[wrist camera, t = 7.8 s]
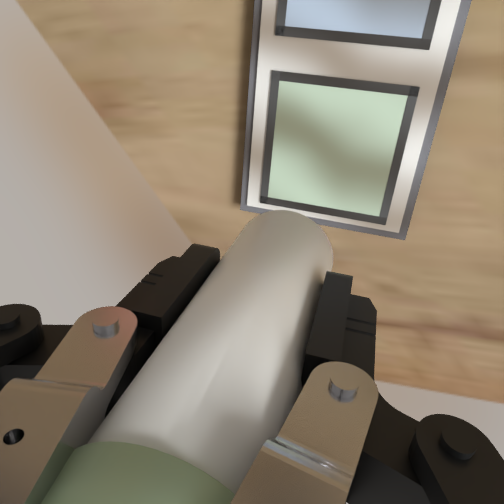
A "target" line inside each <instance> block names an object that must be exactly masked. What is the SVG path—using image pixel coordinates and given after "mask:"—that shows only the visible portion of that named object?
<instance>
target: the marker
mask: <svg viewBox="0 0 504 504" xmlns="http://www.w3.org/2000/svg"><path fill="white" fill-rule="evenodd" d="M332 266H333V250H332V246H331V243H330V241H329V239H328V237H327V235H326V234H325V232H324V231H323V230H322V229H321V227H320V226H319V225H318V224H316V223H315V222H314V221H313V220H311V219H310V218H308V217H306V216H304V215H302V214H300V213H297V212H293V211H288V210H273V211H268V212H264V213H262V214H260V215H258V216H256V217H254V218H253V219H252V220H251V221H249V222H248V224H247V225H246V226H245V227H244V228H243V230H242V231H241V233H240V234H239V235H238V237H237V238H236V239H235V241H234V242H233V244H232V245H231V246H230V248H229V249H228V250H227V252H226V253H225V255H224V256H223V257H222V259H221V260H220V261H219V263H218V264H217V266H216V267H215V268H214V270H213V271H212V272H211V274H210V275H209V276H208V278H207V279H206V281H205V282H204V283H203V285H202V286H201V287H200V289H199V290H198V292H197V293H196V294H195V296H194V297H193V298H192V300H191V301H190V303H189V304H188V305H187V307H186V308H185V309H184V311H183V312H182V314H181V315H180V316H179V318H178V319H177V320H176V322H175V323H174V324H173V326H172V327H171V329H170V330H169V331H168V333H167V334H166V335H165V337H164V338H163V340H162V341H161V342H160V344H159V345H158V346H157V348H156V349H155V351H154V352H153V353H152V355H151V356H150V357H149V359H148V360H147V362H146V363H145V364H144V366H143V367H142V368H141V370H140V371H139V372H138V374H137V375H136V377H135V378H134V379H133V381H132V382H131V383H130V385H129V386H128V388H127V389H126V390H125V392H124V393H123V394H122V396H121V397H120V399H119V400H118V401H117V403H116V404H115V405H114V407H113V408H112V410H111V411H110V412H109V414H108V415H107V416H106V418H105V419H104V420H103V422H102V423H101V425H100V426H99V427H98V429H97V430H96V431H95V433H94V434H93V436H92V437H91V439H90V440H89V442H88V443H87V444H86V445H83V446H80V447H78V448H76V449H75V450H74V451H73V453H72V454H71V456H70V457H69V459H68V460H67V462H66V464H65V465H64V467H63V469H62V470H61V472H60V474H59V475H58V477H57V478H56V480H55V482H54V483H53V485H52V487H51V488H50V490H49V491H48V493H47V495H46V496H45V498H44V500H43V501H42V503H41V504H230V503H231V501H232V500H233V498H234V496H235V494H236V492H237V491H238V489H239V487H240V485H241V483H242V482H243V480H244V478H245V476H246V475H247V473H248V471H249V469H250V467H251V466H252V464H253V462H254V460H255V458H256V457H257V455H258V453H259V451H260V449H261V448H262V446H263V445H264V443H265V442H266V440H267V439H268V438H270V437H271V438H273V439H275V438H276V437H277V436H278V434H279V432H280V430H281V428H282V426H283V424H284V423H285V421H286V419H287V417H288V415H289V413H290V411H291V410H292V408H293V406H294V404H295V402H296V400H297V398H298V396H299V395H300V393H301V391H302V381H301V375H302V370H303V364H304V359H305V353H306V349H307V345H308V341H309V338H310V334H311V330H312V326H313V322H314V318H315V314H316V310H317V306H318V302H319V299H320V295H321V291H322V287H323V283H324V279H325V275H326V271H330V272H331V270H332Z"/></svg>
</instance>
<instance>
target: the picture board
mask: <svg viewBox="0 0 504 504" xmlns="http://www.w3.org/2000/svg"><path fill="white" fill-rule="evenodd" d="M471 1H472V0H255V2H254V16H253V31H252V46H251V60H250V75H249V90H248V104H247V119H246V133H245V148H244V163H243V177H242V192H241V207H240V210H243V211H249V212H254V213H260V214H262V213H264V212H268V211H273V210H288V211H293V212H297V213H300V214H302V215H304V216H306V217H308V218H310V219H311V220H313V221H314V222H315V223H316V224H320V225H325V226H331V227H336V228H341V229H347V230H352V231H358V232H363V233H369V234H374V235H379V236H385V237H390V238H396V239H401V240H405V238H406V234H407V231H408V227H409V224H410V220H411V216H412V213H413V209H414V206H415V202H416V198H417V195H418V191H419V188H420V184H421V180H422V177H423V173H424V170H425V166H426V163H427V159H428V155H429V152H430V148H431V145H432V141H433V137H434V134H435V130H436V127H437V123H438V119H439V116H440V112H441V109H442V105H443V101H444V98H445V94H446V91H447V87H448V83H449V80H450V76H451V73H452V69H453V65H454V62H455V58H456V55H457V51H458V47H459V44H460V40H461V37H462V33H463V29H464V26H465V22H466V19H467V15H468V11H469V8H470V4H471Z"/></svg>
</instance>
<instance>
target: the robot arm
mask: <svg viewBox="0 0 504 504" xmlns="http://www.w3.org/2000/svg"><path fill="white" fill-rule="evenodd" d="M219 261H220V251H219V249H218V248H214V247H209V246H204V245H199V244H192V245H191V246H190V247H189V248H188V249H187V250H186V252H185V253H184V254H183V255H182V256H181V257H175V256H172V257H170V258H168V259H166V260H164V261H161V262H159V263H158V264H157V265H156V266H155V267H154V268H153V269H152V270H151V271H150V272H149V275H148V274H147V275H146V276H145V277H144V278H143V279H142V280H141V282H139V283H138V284H137V285H136V286H135V287H134V288H133V289H132V290H131V291H130V292H129V293H128V294H127V295H126V297H124V298H123V299H122V300H121V301H120V302H119V303H118V304H117V305H116V306H115V307H113V306H110V307H101V308H96V309H94V310H91V311H89V312H87V313H85V314H83V315H82V316H81V317H79V318H78V320H77V321H76V322H75V323H74V325H42V322H41V317H40V313H39V311H38V310H37V309H36V308H34V307H32V306H29V305H25V304H10V305H4V306H0V504H41V503H42V501H43V500H44V498H45V496H46V495H47V493H48V491H49V490H50V488H51V487H52V485H53V483H54V482H55V480H56V478H57V477H58V475H59V474H60V472H61V470H62V469H63V467H64V465H65V464H66V462H67V460H68V459H69V457H70V456H71V454H72V453H73V451H74V450H75V449H76V448H78V447H80V446H83V445H86V444H87V443H88V442H89V440H90V439H91V437H92V436H93V434H94V433H95V431H96V430H97V429H98V427H99V426H100V425H101V423H102V422H103V420H104V419H105V418H106V416H107V415H108V414H109V412H110V411H111V410H112V408H113V407H114V405H115V404H116V403H117V401H118V400H119V399H120V397H121V396H122V394H123V393H124V392H125V390H126V389H127V388H128V386H129V385H130V383H131V382H132V381H133V379H134V378H135V377H136V375H137V374H138V372H139V371H140V370H141V368H142V367H143V366H144V364H145V363H146V362H147V360H148V359H149V357H150V356H151V355H152V353H153V352H154V351H155V349H156V348H157V346H158V345H159V344H160V342H161V341H162V340H163V338H164V337H165V335H166V334H167V333H168V331H169V330H170V329H171V327H172V326H173V324H174V323H175V322H176V320H177V319H178V318H179V316H180V315H181V314H182V312H183V311H184V309H185V308H186V307H187V305H188V304H189V303H190V301H191V300H192V298H193V297H194V296H195V294H196V293H197V292H198V290H199V289H200V287H201V286H202V285H203V283H204V282H205V281H206V279H207V278H208V276H209V275H210V274H211V272H212V271H213V270H214V268H215V267H216V266H217V264H218V263H219ZM352 280H353V276H349V275H345V274H340V273H335V272H330V271H326V275H325V279H324V283H323V287H322V291H321V295H320V299H319V302H318V306H317V310H316V314H315V318H314V322H313V326H312V330H311V334H310V338H309V341H308V345H307V349H306V353H305V359H304V364H303V370H302V375H301V381H302V391H301V393H300V395H299V396H298V398H297V400H296V402H295V404H294V406H293V408H292V410H291V411H290V413H289V415H288V417H287V419H286V421H285V423H284V424H283V426H282V428H281V430H280V432H279V434H278V436H277V437H276V438H275V439H273V438H271V437H270V438H268V439H267V440H266V442H265V443H264V445H263V446H262V448H261V449H260V451H259V453H258V455H257V457H256V458H255V460H254V462H253V464H252V466H251V467H250V469H249V471H248V473H247V475H246V476H245V478H244V480H243V482H242V483H241V485H240V487H239V489H238V491H237V492H236V494H235V496H234V498H233V500H232V501H231V503H230V504H346V502H347V503H348V504H504V460H503V459H502V457H501V456H500V454H499V453H498V451H497V450H496V448H495V447H494V446H493V444H492V443H491V442H490V440H489V439H488V438H487V437H486V436H485V435H484V434H483V433H482V432H481V431H480V430H479V429H477V428H476V427H474V426H473V425H471V424H470V423H468V422H466V421H464V420H462V419H460V418H457V417H454V416H450V415H445V414H434V415H430V416H427V417H425V418H423V419H422V420H421V421H420V422H419V421H416V420H415V419H413V418H411V417H409V416H407V415H405V414H403V413H402V412H400V411H398V410H396V409H395V408H393V407H392V406H391V405H390V404H389V403H388V402H386V401H385V400H384V398H383V397H382V396H381V395H380V393H379V392H378V388H377V385H376V384H375V382H374V364H375V340H376V337H375V335H376V316H377V310H376V309H375V307H374V305H373V304H372V302H371V300H370V299H369V298H366V297H362V296H357V295H352V294H350V293H351V287H352Z"/></svg>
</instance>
